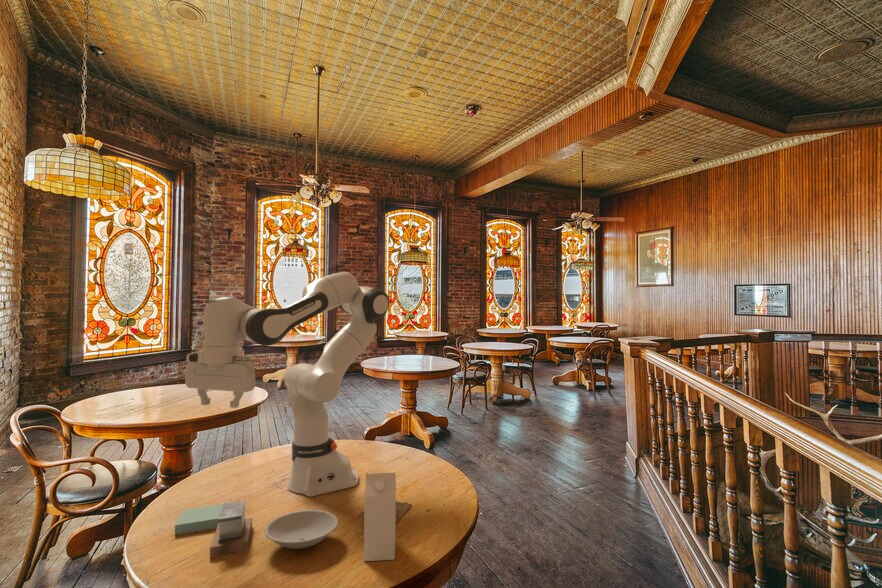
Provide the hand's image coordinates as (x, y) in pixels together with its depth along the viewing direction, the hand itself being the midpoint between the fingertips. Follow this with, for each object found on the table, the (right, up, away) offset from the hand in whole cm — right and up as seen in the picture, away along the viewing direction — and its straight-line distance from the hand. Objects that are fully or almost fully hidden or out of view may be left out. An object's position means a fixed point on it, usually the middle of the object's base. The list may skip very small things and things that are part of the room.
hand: (219, 406), depth 111 cm
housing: (+8, -29, -9) cm, 32 cm away
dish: (+26, -32, -10) cm, 42 cm away
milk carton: (+46, -32, -13) cm, 57 cm away
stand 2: (+8, -32, -9) cm, 34 cm away
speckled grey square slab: (+45, -33, +6) cm, 56 cm away
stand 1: (-4, -32, -1) cm, 32 cm away
